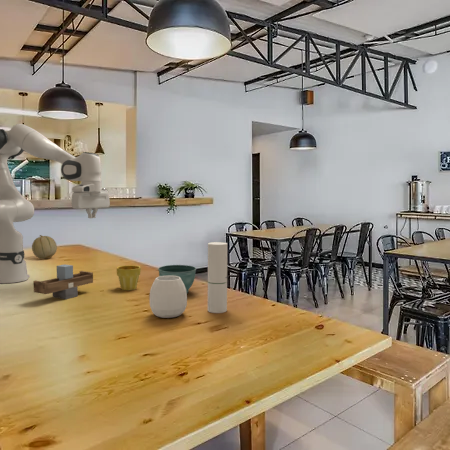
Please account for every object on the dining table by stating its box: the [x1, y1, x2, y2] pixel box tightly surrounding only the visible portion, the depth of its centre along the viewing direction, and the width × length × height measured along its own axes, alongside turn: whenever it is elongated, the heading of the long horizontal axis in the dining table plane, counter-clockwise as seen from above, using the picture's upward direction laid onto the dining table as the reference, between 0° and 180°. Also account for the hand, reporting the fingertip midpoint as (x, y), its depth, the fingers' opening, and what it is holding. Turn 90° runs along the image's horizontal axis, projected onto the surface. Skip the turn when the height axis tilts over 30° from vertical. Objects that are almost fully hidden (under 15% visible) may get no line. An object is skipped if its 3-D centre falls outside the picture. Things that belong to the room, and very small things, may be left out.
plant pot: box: [116, 264, 141, 291], centre depth 188 cm, size 10×10×10 cm
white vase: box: [149, 275, 188, 319], centre depth 149 cm, size 13×13×14 cm
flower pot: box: [157, 264, 197, 294], centre depth 182 cm, size 16×16×11 cm
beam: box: [32, 270, 94, 300], centre depth 174 cm, size 8×24×8 cm, turn 151°
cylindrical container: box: [207, 241, 228, 314], centre depth 155 cm, size 7×7×25 cm
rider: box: [56, 264, 74, 281], centre depth 173 cm, size 5×4×7 cm
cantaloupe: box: [31, 234, 58, 260], centre depth 266 cm, size 15×15×15 cm
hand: (91, 218), depth 194 cm, fingers closed
